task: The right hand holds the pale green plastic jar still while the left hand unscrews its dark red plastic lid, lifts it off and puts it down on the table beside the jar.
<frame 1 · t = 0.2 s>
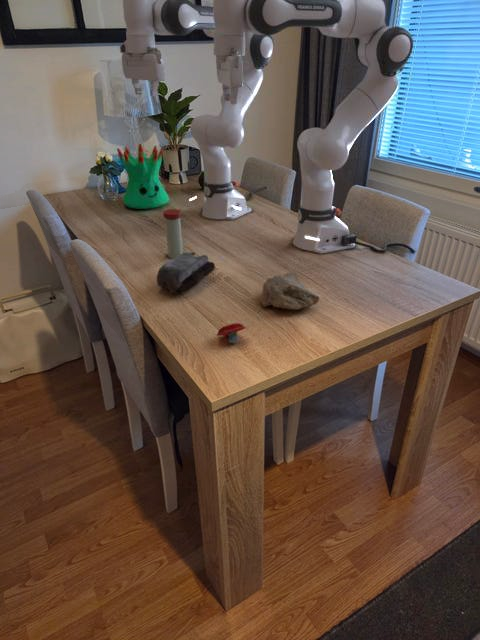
left hand: (146, 95, 149), 48 cm above the table, tool pointing down, fingers open, 8 cm apart
right hand: (230, 102, 133), 48 cm above the table, tool pointing down, fingers open, 8 cm apart
toy 2: (146, 204, 204), on the table
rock: (187, 284, 136), on the table
jar: (175, 255, 154), on the table
toy: (212, 189, 225), on the table
button: (231, 340, 110), on the table
rough grey stone: (284, 300, 127), on the table
lid: (172, 212, 146), point 15 cm above the table, screwed on, not yet turned
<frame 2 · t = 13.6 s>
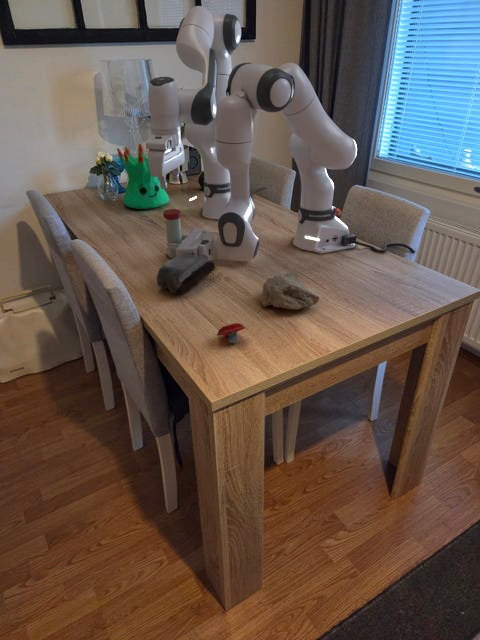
left hand: (170, 184, 142), 24 cm above the table, tool pointing down, fingers open, 8 cm apart
right hand: (172, 241, 152), 5 cm above the table, tool horizontal, fingers closed on jar, 5 cm apart
jar: (175, 255, 154), on the table, touching right hand
everything else where it was.
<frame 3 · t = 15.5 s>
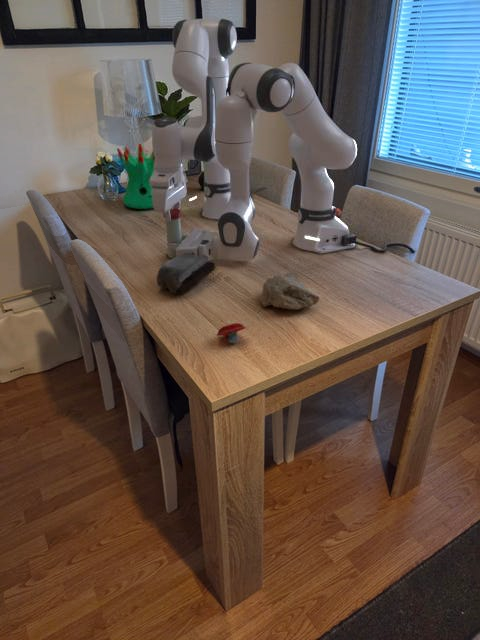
left hand: (172, 217, 147), 14 cm above the table, tool pointing down, fingers closed on lid, 5 cm apart
right hand: (172, 241, 152), 5 cm above the table, tool horizontal, fingers closed on jar, 5 cm apart
jar: (175, 255, 154), on the table, touching right hand
lid: (172, 212, 146), point 15 cm above the table, screwed on, not yet turned, touching left hand
everything else where it was.
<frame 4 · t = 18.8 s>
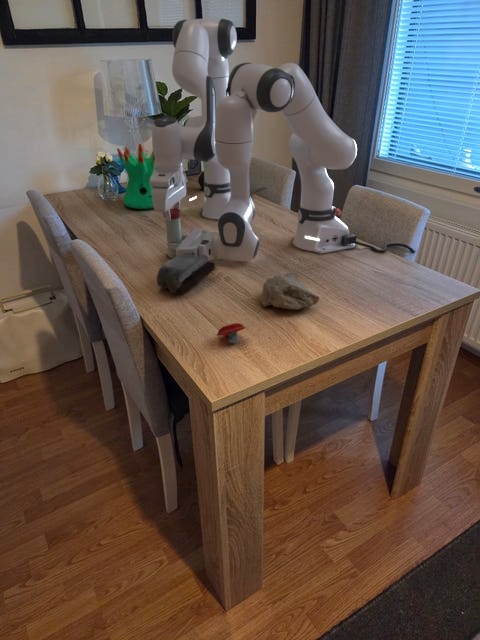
left hand: (172, 217, 147), 14 cm above the table, tool pointing down, fingers closed on lid, 5 cm apart
right hand: (172, 241, 152), 5 cm above the table, tool horizontal, fingers closed on jar, 5 cm apart
jar: (175, 255, 154), on the table, touching right hand
lid: (172, 212, 146), point 15 cm above the table, turned 82° so far, risen 0.1 cm, still on its thread, touching left hand
everything else where it was.
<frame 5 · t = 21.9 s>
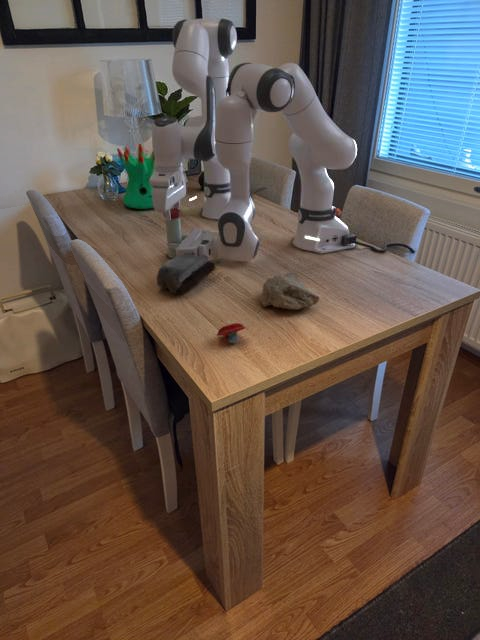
left hand: (172, 216, 147), 14 cm above the table, tool pointing down, fingers closed on lid, 5 cm apart
right hand: (172, 241, 152), 5 cm above the table, tool horizontal, fingers closed on jar, 5 cm apart
jar: (175, 255, 154), on the table, touching right hand
lid: (172, 212, 146), point 16 cm above the table, turned 163° so far, risen 0.2 cm, still on its thread, touching left hand
everything else where it was.
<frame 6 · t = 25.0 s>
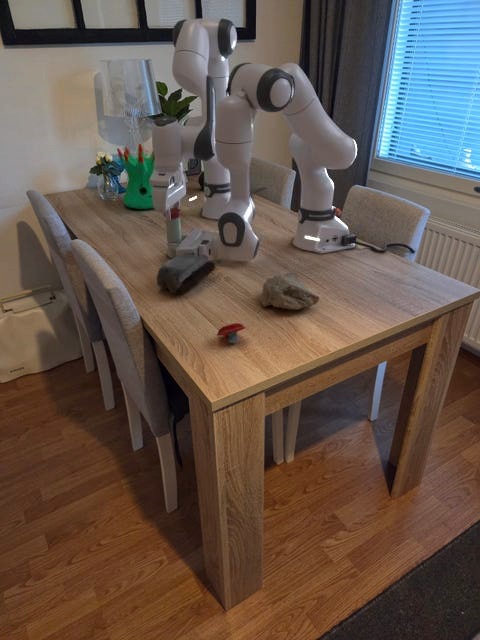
left hand: (172, 216, 147), 14 cm above the table, tool pointing down, fingers closed on lid, 5 cm apart
right hand: (172, 241, 152), 5 cm above the table, tool horizontal, fingers closed on jar, 5 cm apart
jar: (175, 255, 154), on the table, touching right hand
lid: (172, 211, 146), point 16 cm above the table, turned 245° so far, risen 0.3 cm, still on its thread, touching left hand
everything else where it was.
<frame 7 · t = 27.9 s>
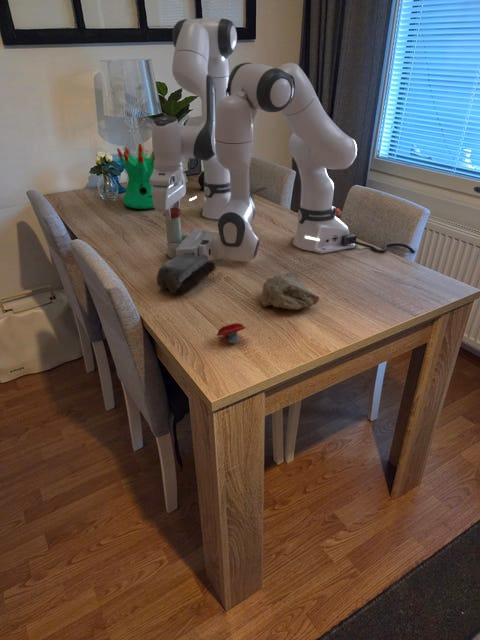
left hand: (172, 216, 147), 14 cm above the table, tool pointing down, fingers closed on lid, 5 cm apart
right hand: (172, 241, 152), 5 cm above the table, tool horizontal, fingers closed on jar, 5 cm apart
jar: (175, 255, 154), on the table, touching right hand
lid: (172, 211, 146), point 16 cm above the table, turned 326° so far, risen 0.4 cm, still on its thread, touching left hand
everything else where it was.
when the left hand's fingers open (2 cm above the table, at t = 37.5 s): lid drops 2 cm, point 1 cm above the table.
when the right hand's fingers open (5 cm above the table, at t = 38.5 s): jar stays where it is, on the table.
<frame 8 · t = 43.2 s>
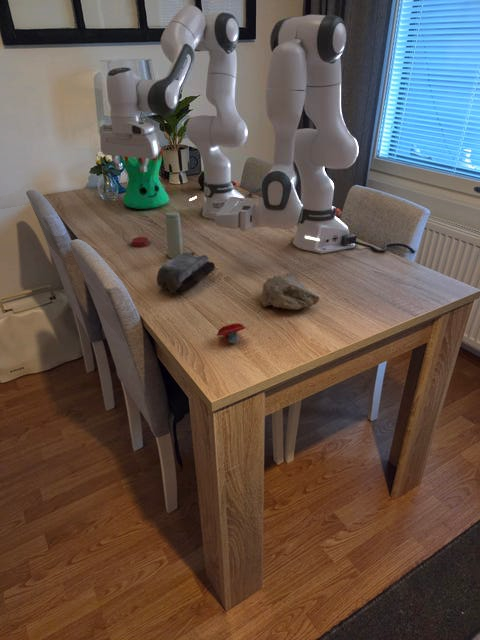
left hand: (131, 170, 150), 26 cm above the table, tool pointing down, fingers open, 8 cm apart
right hand: (208, 209, 143), 17 cm above the table, tool horizontal, fingers open, 8 cm apart
jar: (175, 255, 154), on the table
lid: (140, 240, 163), point 1 cm above the table, off its thread
everything else where it was.
at the end: lid came off its thread; lid point 1.3 cm above the table; the left hand is holding nothing; the right hand is holding nothing; jar tilted 0°; jar moved 0.1 cm from its start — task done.
